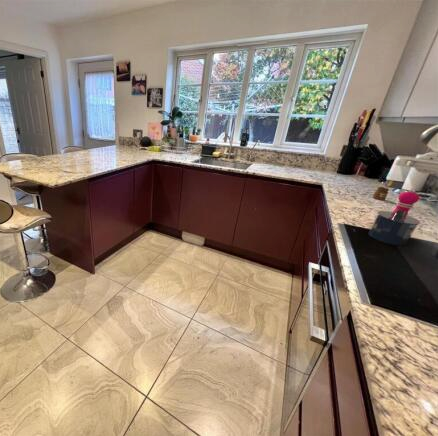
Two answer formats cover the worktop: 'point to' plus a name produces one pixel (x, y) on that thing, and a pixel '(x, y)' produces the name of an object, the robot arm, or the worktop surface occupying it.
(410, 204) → the pepper mill
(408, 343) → the worktop surface
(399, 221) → the pot lid
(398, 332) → the worktop surface
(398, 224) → the pot
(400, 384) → the worktop surface
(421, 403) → the worktop surface
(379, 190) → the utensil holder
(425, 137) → the robot arm
